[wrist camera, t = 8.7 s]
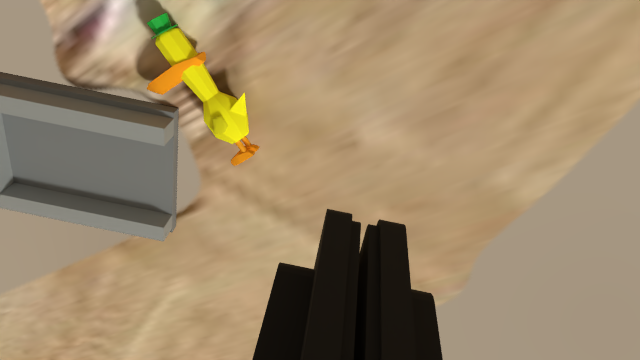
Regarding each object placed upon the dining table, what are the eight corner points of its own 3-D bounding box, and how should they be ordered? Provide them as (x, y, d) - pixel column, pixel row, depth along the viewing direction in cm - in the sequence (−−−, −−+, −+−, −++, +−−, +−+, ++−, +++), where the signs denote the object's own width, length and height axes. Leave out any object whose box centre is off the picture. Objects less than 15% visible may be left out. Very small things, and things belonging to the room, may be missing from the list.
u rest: (-15, 68, 39) (-43, 80, 36) (178, 108, 39) (164, 122, 36) (8, 191, 45) (-14, 209, 42) (175, 226, 45) (163, 245, 42)
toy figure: (205, 184, 38) (104, 53, 35) (224, 163, 41) (132, 40, 38) (270, 150, 35) (166, 2, 32) (285, 130, 38) (191, -7, 35)
